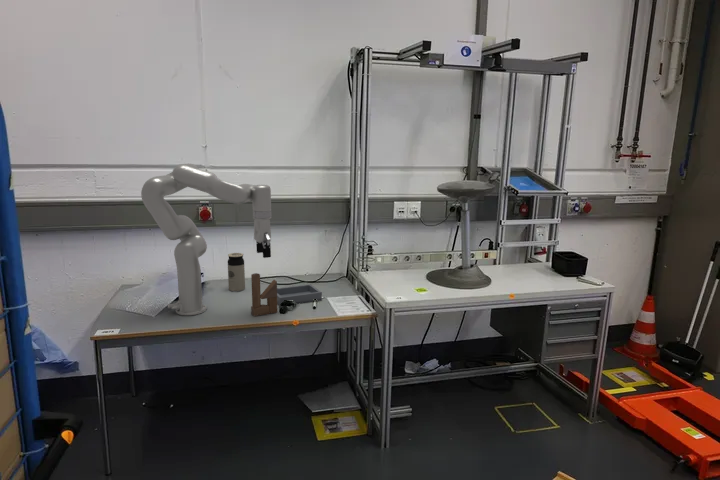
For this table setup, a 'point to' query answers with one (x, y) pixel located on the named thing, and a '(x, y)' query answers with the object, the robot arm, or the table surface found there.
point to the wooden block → (263, 297)
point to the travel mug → (236, 272)
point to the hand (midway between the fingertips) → (263, 254)
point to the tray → (298, 294)
